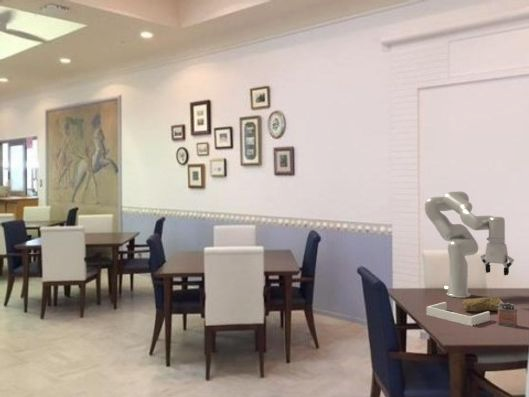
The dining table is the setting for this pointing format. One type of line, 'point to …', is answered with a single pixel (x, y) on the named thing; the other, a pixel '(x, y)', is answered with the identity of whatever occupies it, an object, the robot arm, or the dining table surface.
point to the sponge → (481, 304)
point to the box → (456, 315)
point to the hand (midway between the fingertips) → (496, 273)
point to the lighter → (507, 315)
